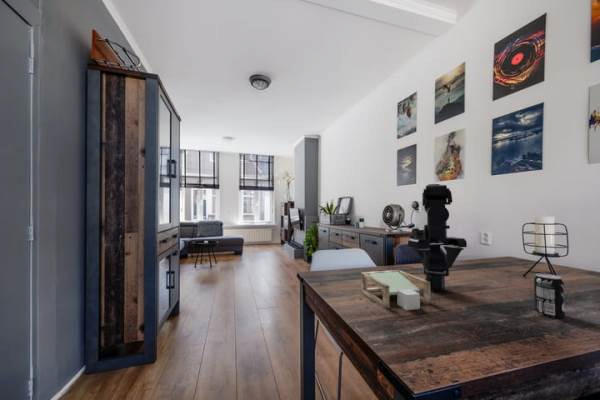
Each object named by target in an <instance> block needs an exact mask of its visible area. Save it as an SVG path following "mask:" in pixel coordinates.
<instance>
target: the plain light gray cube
mask: <svg viewBox="0 0 600 400" xmlns="http://www.w3.org/2000/svg"><path fill="white" fill-rule="evenodd" d="M420 296H421V295H420V292H418V293H417V292H415V291H413V290H411V289H404V290H397V294H396V299H397V301H396V303H397V304H396V305H397V306H399V307H401V308H402V309H404V310H405V311H412V310H420V309H421V301H420Z"/></svg>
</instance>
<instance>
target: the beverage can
mask: <svg viewBox="0 0 600 400" xmlns="http://www.w3.org/2000/svg"><path fill="white" fill-rule="evenodd" d="M533 282H534V283H533V284H534V285H533V286H534V287H533V288H534V289H533V290H534V291H533V292H534V309H535V311H536V313H538V314H539V315H542V316H544V317H548V318H553V319H562V318H563V317H565V316H566V304H565V303H566V302H565V283H564V281H563V278H562V276H559V275H556V274H551V273H550V274H549V273H535V277H533Z"/></svg>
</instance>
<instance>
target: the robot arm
mask: <svg viewBox="0 0 600 400" xmlns="http://www.w3.org/2000/svg"><path fill="white" fill-rule="evenodd" d="M452 195H453V194H452V191H451V190H450V187H448V185H446V184H439V183H429V184H426V186H425V188H423V192H422V195H421V196H422V197H421V198H422V199H421V202H422V207H423V206H424V209H423V210H424V212H425V213H426V222H427V223H426V224H424V226H423V229H419V228H418V227H417V228H416V227H415V228H412V229H411V236H412V238H408V241H407V246H408V248H411V250H414V251H415V252H416V254H417V255H418V256H419V259H420V262H421V264H422V266H423V274H424V275H425V279H424V280H426V281H428V282H430V292H433V293H439V292H447V291H449V289H447V288H446V282H445V281H446V280H445V279H446V277H448V276H450V269H452V266H453V265H454V263H455V261H456V260H457V258H458V256H459V255H460V254H461V252H462V251H464V249H465V248H467V247H468V242H467V240H466V239H465V238H463V237H457V236H456V237H455V236H449V237H448V235H447V234H448V232H447V231H448V229H451V227H450V225H448V224H447V221H448V220H449V219H450V211H449V209H448V208H447V207H446V206H447V205H449V206H451V204H452V203H453V196H452ZM441 246H443V247H442V248H443V249H444V250H445V253H446V256H445V254H444V253H443V251H442V249H441Z"/></svg>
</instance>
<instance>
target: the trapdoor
mask: <svg viewBox="0 0 600 400" xmlns="http://www.w3.org/2000/svg"><path fill="white" fill-rule="evenodd" d="M369 275H370V276H372V277H374V278H376V279H378V280H380V281H382V282H383V283H385V284H387V285H389V296H394V295H395V296H397V290H404V289H411V290H413V291H415V292H417V293H420V291H421V290H420V289H419V287H417V286H416V285H414V284H413V283H412V282H411V281H410V280H409V279H407V277H406V276H403V275H401V274H400V273H399V272H386V273H371V274H369ZM376 286H377V287H379V288H380V289H381V290H382V291H381V292H383V287H381V286H379V285H378V284H376Z"/></svg>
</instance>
